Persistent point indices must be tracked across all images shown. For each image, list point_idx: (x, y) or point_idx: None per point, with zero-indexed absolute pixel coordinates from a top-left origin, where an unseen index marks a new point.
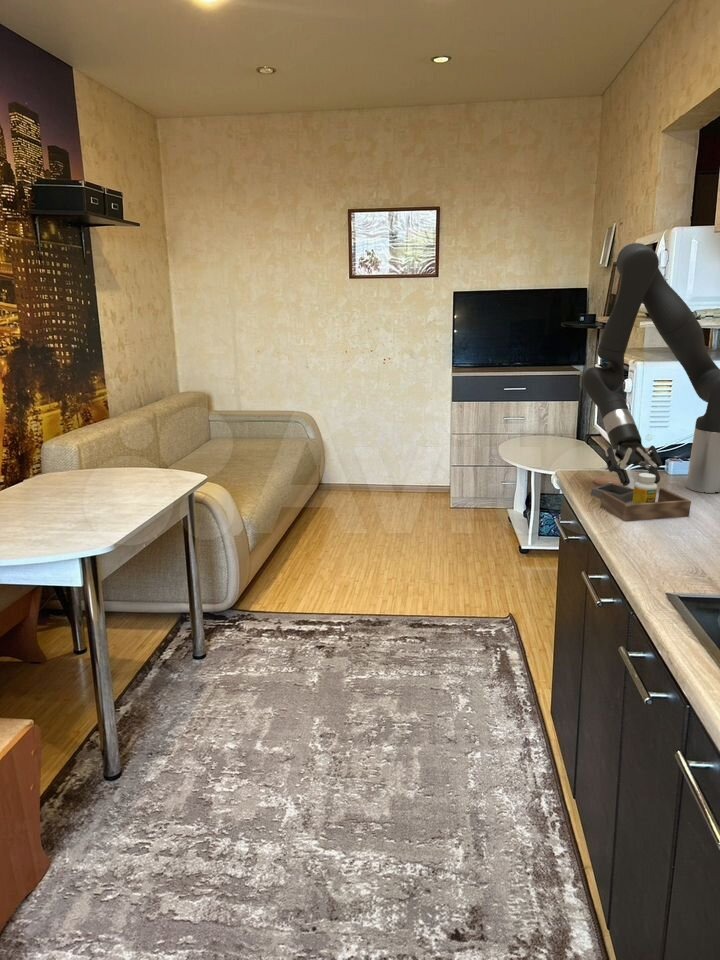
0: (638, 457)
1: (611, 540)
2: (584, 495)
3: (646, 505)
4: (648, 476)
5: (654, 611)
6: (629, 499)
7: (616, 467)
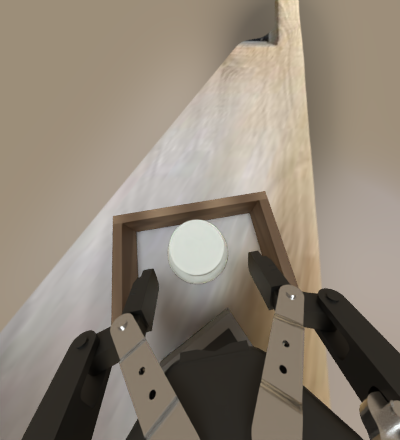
0: (193, 375)
1: (297, 137)
2: None
3: (219, 199)
4: (200, 229)
5: (295, 26)
6: (198, 332)
7: (314, 299)
